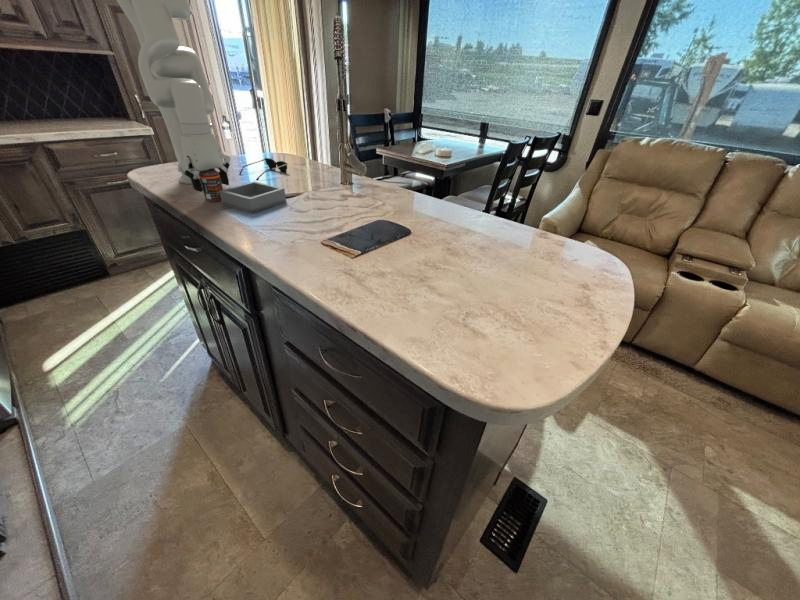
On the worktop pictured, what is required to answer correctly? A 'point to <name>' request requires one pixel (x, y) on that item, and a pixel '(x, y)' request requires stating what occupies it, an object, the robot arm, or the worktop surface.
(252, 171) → the worktop surface
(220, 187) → the supplement bottle
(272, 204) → the bin
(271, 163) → the sunglasses
